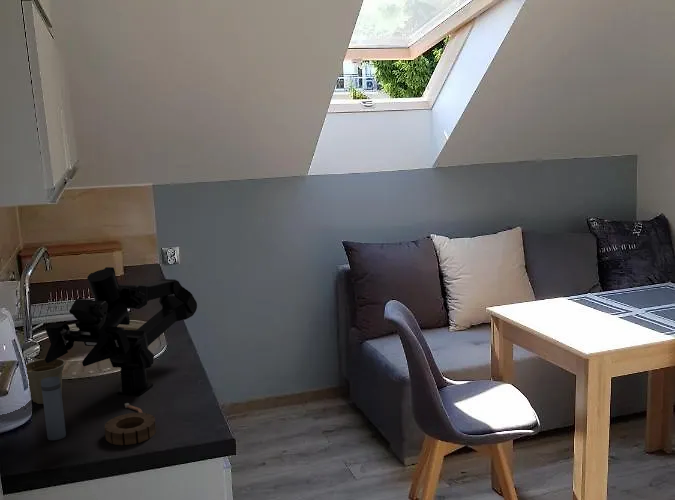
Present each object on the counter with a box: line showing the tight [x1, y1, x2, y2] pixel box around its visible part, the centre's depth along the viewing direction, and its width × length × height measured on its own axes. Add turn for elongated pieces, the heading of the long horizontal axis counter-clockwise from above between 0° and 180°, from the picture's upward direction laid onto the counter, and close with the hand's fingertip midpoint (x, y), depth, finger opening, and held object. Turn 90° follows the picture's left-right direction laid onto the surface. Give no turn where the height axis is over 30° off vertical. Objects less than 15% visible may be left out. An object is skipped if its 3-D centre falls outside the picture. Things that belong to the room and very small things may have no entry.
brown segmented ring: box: [104, 411, 157, 446], centre depth 144 cm, size 10×10×2 cm
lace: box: [124, 402, 144, 413], centre depth 153 cm, size 12×3×1 cm, turn 26°
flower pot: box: [25, 358, 66, 405], centre depth 163 cm, size 9×9×9 cm
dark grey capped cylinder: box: [41, 377, 67, 441], centre depth 143 cm, size 4×4×12 cm
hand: (64, 362), depth 143 cm, fingers open, 9 cm apart
